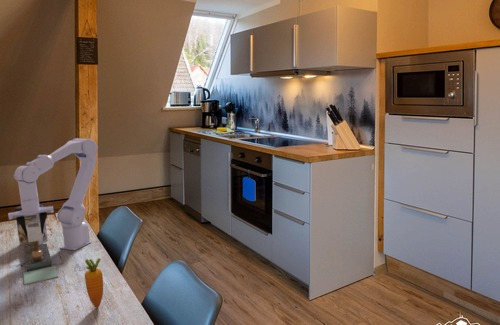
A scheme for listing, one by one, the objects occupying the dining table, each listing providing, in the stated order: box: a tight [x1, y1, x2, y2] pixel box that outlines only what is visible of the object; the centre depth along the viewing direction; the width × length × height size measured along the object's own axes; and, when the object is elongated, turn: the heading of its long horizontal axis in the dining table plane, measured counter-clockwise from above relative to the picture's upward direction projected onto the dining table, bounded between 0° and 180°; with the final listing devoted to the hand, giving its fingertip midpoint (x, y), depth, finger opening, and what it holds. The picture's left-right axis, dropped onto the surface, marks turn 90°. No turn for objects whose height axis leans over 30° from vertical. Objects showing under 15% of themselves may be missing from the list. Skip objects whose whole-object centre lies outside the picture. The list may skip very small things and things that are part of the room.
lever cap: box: [26, 221, 42, 242], centre depth 152 cm, size 6×4×6 cm
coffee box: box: [14, 203, 49, 247], centre depth 171 cm, size 9×6×16 cm
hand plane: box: [23, 241, 53, 272], centre depth 154 cm, size 20×8×6 cm, turn 30°
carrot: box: [84, 257, 104, 309], centre depth 116 cm, size 5×5×15 cm
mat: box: [22, 265, 59, 286], centre depth 140 cm, size 10×10×1 cm
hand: (34, 234), depth 153 cm, fingers closed on lever cap, 4 cm apart
